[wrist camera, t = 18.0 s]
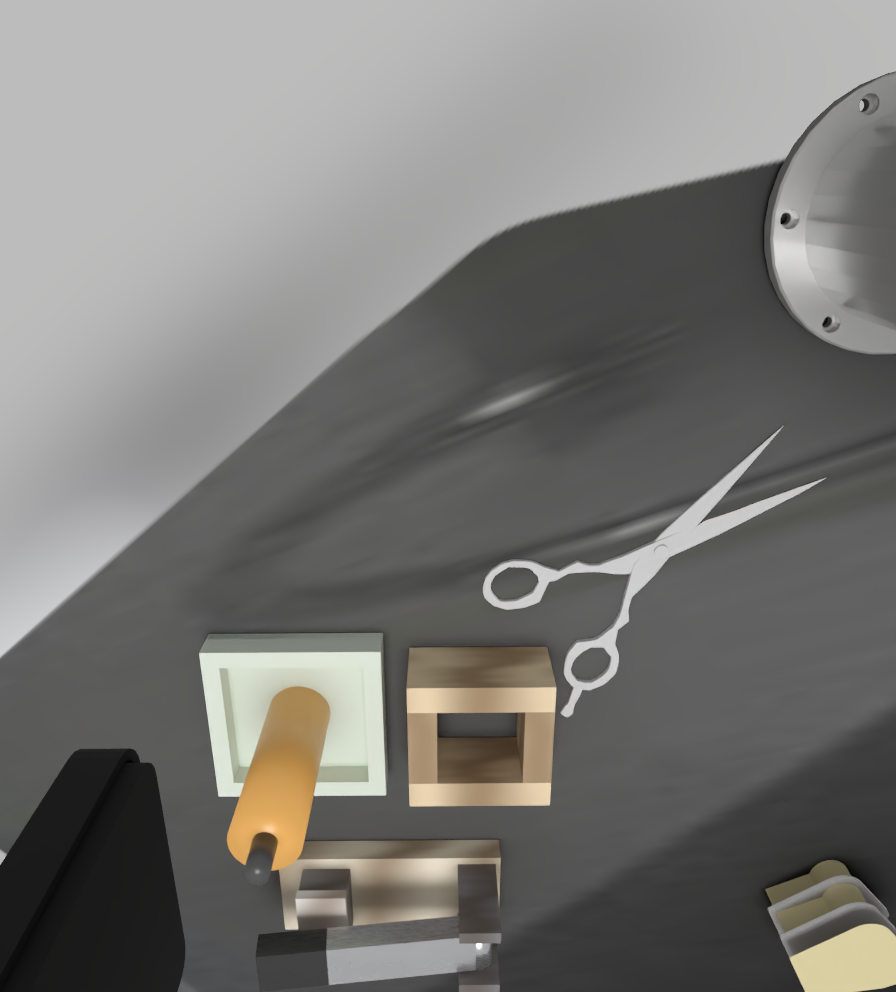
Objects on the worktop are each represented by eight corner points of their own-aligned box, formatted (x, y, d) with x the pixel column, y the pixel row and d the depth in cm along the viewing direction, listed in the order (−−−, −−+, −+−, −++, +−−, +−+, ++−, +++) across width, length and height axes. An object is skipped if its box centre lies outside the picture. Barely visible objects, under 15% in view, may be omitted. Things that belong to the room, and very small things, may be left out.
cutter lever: (490, 912, 49) (494, 935, 47) (489, 945, 50) (493, 969, 48) (258, 933, 47) (255, 958, 46) (262, 967, 48) (259, 992, 47)
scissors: (452, 600, 45) (756, 375, 40) (452, 593, 46) (751, 371, 41) (565, 718, 48) (861, 522, 43) (564, 710, 49) (854, 516, 44)
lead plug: (328, 686, 47) (292, 844, 36) (332, 736, 48) (298, 905, 37) (266, 686, 47) (211, 845, 36) (272, 737, 48) (220, 906, 37)
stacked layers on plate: (765, 955, 57) (797, 1032, 51) (724, 869, 54) (753, 942, 48) (905, 908, 55) (953, 983, 50) (870, 816, 52) (917, 886, 47)
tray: (382, 632, 46) (380, 651, 44) (388, 772, 50) (386, 795, 48) (208, 633, 46) (199, 653, 44) (227, 773, 50) (218, 796, 48)
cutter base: (498, 839, 52) (506, 926, 46) (497, 908, 54) (504, 999, 48) (282, 841, 52) (261, 928, 46) (289, 910, 54) (270, 1002, 48)
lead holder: (547, 646, 47) (556, 687, 43) (541, 758, 50) (549, 805, 46) (409, 647, 47) (406, 688, 43) (412, 759, 49) (409, 806, 46)
